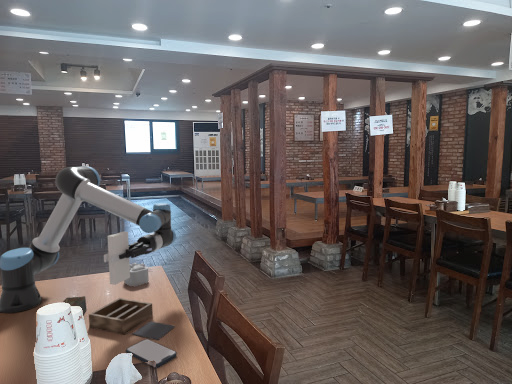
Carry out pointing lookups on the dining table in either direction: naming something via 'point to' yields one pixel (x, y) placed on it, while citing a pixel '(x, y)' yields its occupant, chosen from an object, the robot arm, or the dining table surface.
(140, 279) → the lumpy-topped squat cylinder
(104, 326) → the crate
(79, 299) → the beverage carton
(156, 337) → the mat
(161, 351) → the phone case
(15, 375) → the dining table surface
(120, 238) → the cover plate
